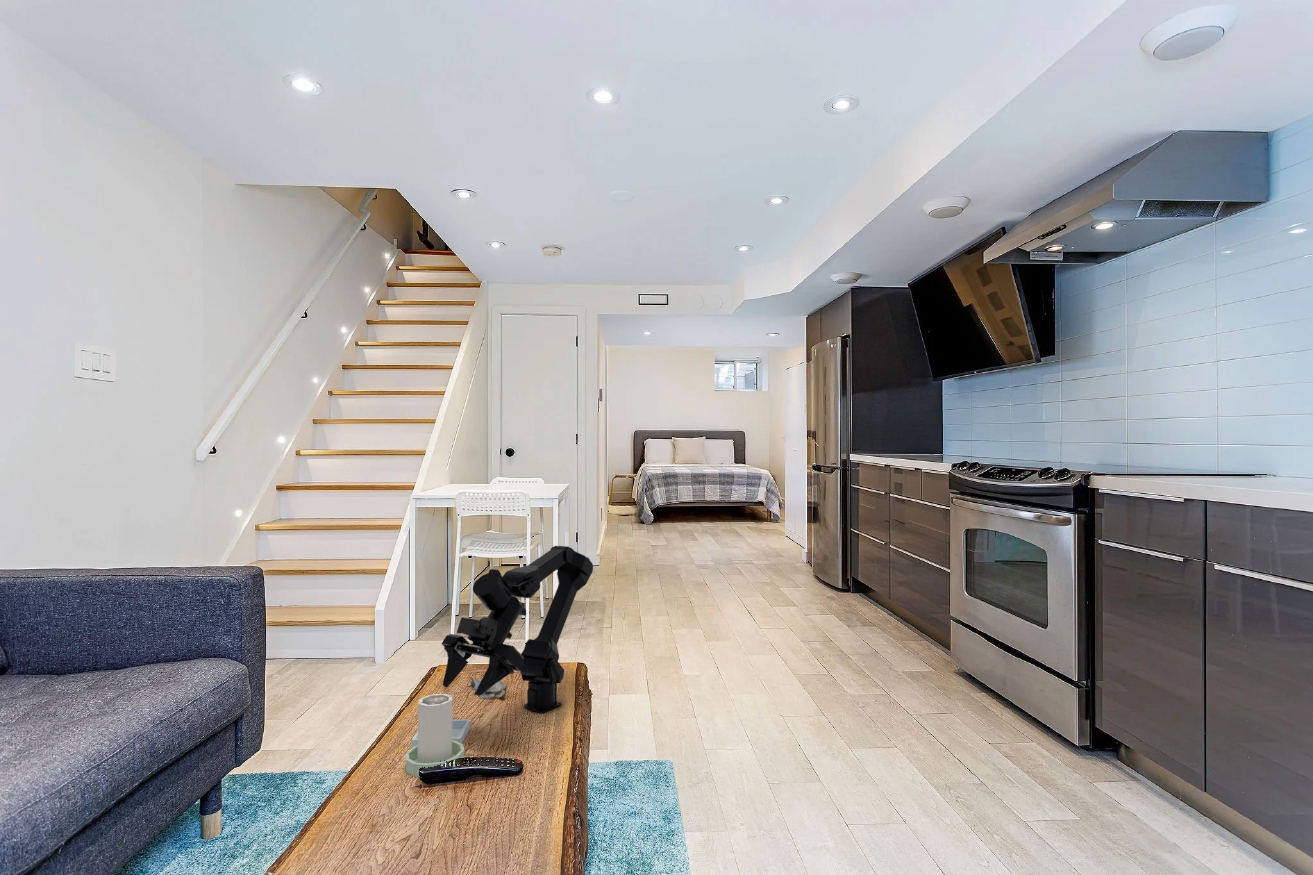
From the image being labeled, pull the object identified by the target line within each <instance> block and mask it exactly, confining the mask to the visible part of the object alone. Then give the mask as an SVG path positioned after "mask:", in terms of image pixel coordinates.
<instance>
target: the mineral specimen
mask: <svg viewBox="0 0 1313 875" xmlns="http://www.w3.org/2000/svg"><path fill="white" fill-rule="evenodd" d="M470 680H471V682H470V684H471V686H473V688H472V691H475V692H476V691H477V688H478V686H479V684H480V682H481V680H482V679H479V678H477V677H475V678H474V677H471V679H470ZM506 688H507V683H505V682H504V681H501V680H500V681H499V682H497V683H496V684H494V685H493V686H492V687H491V688H489V689H488V690H487V691H485V692H484V693H483V694H482V695H480V696H479V698H481V699H482V700H484V699H485V700H496V699H499V698H501V697H503V696H504V694H505V693H506V690H505V689H506Z"/></svg>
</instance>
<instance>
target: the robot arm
mask: <svg viewBox="0 0 1313 875" xmlns="http://www.w3.org/2000/svg"><path fill="white" fill-rule="evenodd" d="M593 571H594V564H593V562H592V561H591V560H590V558H589V557H588V556H586V555H584V554H582V553H580V552H578V551H576V550H574V549H573V548H572V547H570V546H567V545H566V546H565V545H553V546H552V547H551V548H550V550H548V551H547V552H545V553H544V554H543V555H540V556H539V557H538V558H536V559H535V560H533V561H532V562H531V563H529V564H527V565H525V566H521V567H515V568H512V569H509V570H507V571H505V573H504V574H503V575H502V573H501V572H500V570H499V569H494V568H493V569H492V568H490V569H489V571H488V573H484V574H483V575H481V576H480V577H479V578H478V579H476V580H475V581H474V583H473V586H472V592H473V593H474V595H475V596H476V597H477V599H478V600H479V601H480V602H481V604H483V606H484V608H486V609H487V610H489V611H490V612H489V614H488V616H483V617H481V618H480V619H479V620H478V619H474V618H469V617H463V616H462V617H461V618H460V621H459V623H458V627H457V629H456V634H453V633H450V634H447V635H445V637H444V639H443V640H442V642H441V646H443V649H444V651H445V652H446V654H447V664H446V668H445V672H444V673H445V674H444V675H443V676H444V678H443V681H442V686H443V687H444V688H448V687H449V686H450V685H451V683H452V682H453V681H454V680H455V679H456V678H457V677H458V675H459V674H460V673H461V672H462V671H463V669H464V668H465V667H466V666H467V665H468V663H469V661H468V659H470V658H471V657H472V656H473V655H474V656H479V657H485V658H488V667H487V669H486V671H485V673H484V674H483V677H482V678H481V679H480V680H481V682H480V684H479V686H478V688H477V691H475V695H477V696H478V697H480V695H482V694H483V693H484V692H485V691H487V690H488V689H489V688H491V687H492V686H493V685H494V684H496V683H497V682H499V681H501V680H503V679H504V678H507V677H508V676H509V675H513V674H514V673H515V672H520V676H521V679H522V681H524V682H525V681H526V682H527V683H528V684H527V685H528V688H527V691H526V697H527V698H526V699H527V700H526V702H527V703H524V704H523V707H524V708H525V709H528V710H531V711H534V712H536V713H540V714H544V713H546V712H548V711H551V710H553V709H555V708H556V709H557V708H558V707H560V706H562V702H560V701H558V689H557V688H558V684H561V683H562V680H563V679H564V675H565V669H564V667H563V666H562V665H561V664H560V662H559V660H560V654H559V653H560V652H559V649H558V642H559V640H560V638H561V634H562V632H563V629H564V627H565V624H566V622H567V619H568V616H569V613H570V611H571V608H572V606H573V603H574V601H575V598H576V595H577V593H578V591H580V590H581V589H582V588H583V587H585V586H586V585H587V583H588V582H589V579H590V577H591V576H592V574H593ZM555 572H556V575H557V579H558V580H557V581H558V586H557V589H556V591H555V593H554V595H553V598H552V601H551V603H550V605H549V608H548V610H547V613H546V616H545V618H544V620H543V623H542V625H541V628H540V630H539V633H538V635H537V636H536V637H535V638H534V639H532V638H528V640H526V642H525V644H524V645H525V646H524V647H523V648H524V649H523V651H522V652H521V653H520V651H518V649H517V648H516V647H515V646H514V645H510V644H506V643H505V641H506V639H508V640H511V638H512V636H513V634H512V633H511V632H510V631H511V630H512V629H513V626H514V624H515V623H516V621H517V619H518V617H519V616H524V617H525V616H527V609H526V603H525V602H521V601H520V600H519V599H518V598H522V599H531V598H533V596H534V595H535V594H536V593H537V592H538V591H539V590H540V589H541V582H543V581H544V580H545V579H546V578H547V577H549V576H551V574H553V573H555ZM460 634H464V635H467V639H468V640H469V641H470V642H472V643H470V642H469V641H468V640H467V639H466V638H465V637H464V636H462V635H460Z"/></svg>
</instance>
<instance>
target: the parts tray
mask: <svg viewBox="0 0 1313 875" xmlns="http://www.w3.org/2000/svg"><path fill="white" fill-rule="evenodd" d="M471 721H472V720H471V718H465V719H462V718H461V719H460V718H459V719H452V740H455V741H457V742H459V743H461V744H463V743H464V741H465V739H466V737H467V735H468V733H469V731H470V729H471V725H472V724H471ZM410 744H411V747H410V749H411V748H412V747H414V746H417V745H418V730H417V732H416V733H415V734H414V736H413V737H412V739H411V743H410Z"/></svg>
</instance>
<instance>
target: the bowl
mask: <svg viewBox="0 0 1313 875" xmlns="http://www.w3.org/2000/svg"><path fill="white" fill-rule="evenodd" d="M458 758H464V759H465V748H464V744H463V743H462V744H461V743H459V742H457V741H455V740H452V758H450V759H447V760H445V761H441V762H435V763H418V745H417V746H414V747H412V748H411V747H410V749H409V750H408V751H407V752H405V773H407V774H409V775H410V776H413V777H415V778H421V777H420V776H419V769H420V768H422V767H423V768H424V767H425V768H428V767H434V766H437V765H440V764H445V763H446V761H447V762H449V761H451V760H455V759H458Z"/></svg>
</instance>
